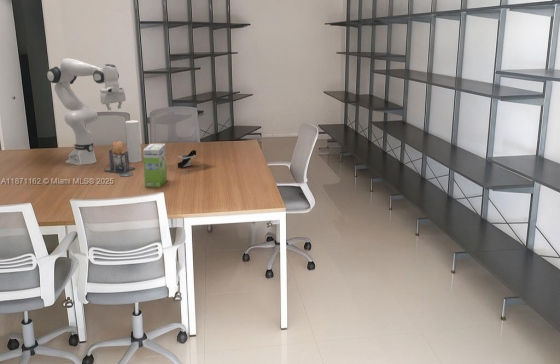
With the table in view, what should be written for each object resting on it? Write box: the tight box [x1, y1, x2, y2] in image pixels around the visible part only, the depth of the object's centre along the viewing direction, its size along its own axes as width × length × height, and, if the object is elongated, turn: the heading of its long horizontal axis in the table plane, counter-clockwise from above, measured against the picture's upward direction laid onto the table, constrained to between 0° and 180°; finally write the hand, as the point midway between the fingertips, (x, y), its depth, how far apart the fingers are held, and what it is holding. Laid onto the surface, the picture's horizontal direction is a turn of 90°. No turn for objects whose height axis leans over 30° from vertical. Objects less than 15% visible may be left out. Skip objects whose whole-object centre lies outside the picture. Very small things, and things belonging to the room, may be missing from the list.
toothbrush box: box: [142, 143, 168, 188], centre depth 333 cm, size 18×10×24 cm, turn 178°
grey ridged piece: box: [104, 148, 136, 175], centre depth 365 cm, size 15×14×14 cm
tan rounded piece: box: [111, 140, 125, 155], centre depth 363 cm, size 11×6×9 cm, turn 66°
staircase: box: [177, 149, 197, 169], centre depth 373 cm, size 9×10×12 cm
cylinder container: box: [124, 119, 143, 163], centre depth 389 cm, size 9×9×30 cm
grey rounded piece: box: [118, 171, 134, 178], centre depth 356 cm, size 9×9×1 cm
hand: (114, 109), depth 362 cm, fingers open, 8 cm apart
